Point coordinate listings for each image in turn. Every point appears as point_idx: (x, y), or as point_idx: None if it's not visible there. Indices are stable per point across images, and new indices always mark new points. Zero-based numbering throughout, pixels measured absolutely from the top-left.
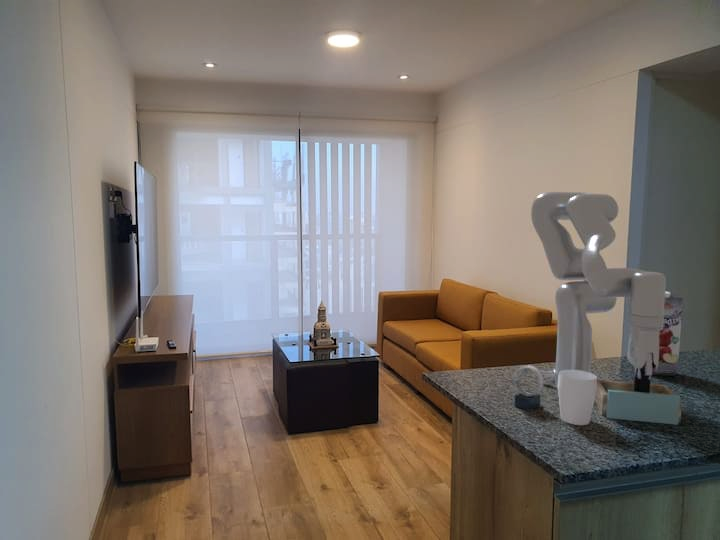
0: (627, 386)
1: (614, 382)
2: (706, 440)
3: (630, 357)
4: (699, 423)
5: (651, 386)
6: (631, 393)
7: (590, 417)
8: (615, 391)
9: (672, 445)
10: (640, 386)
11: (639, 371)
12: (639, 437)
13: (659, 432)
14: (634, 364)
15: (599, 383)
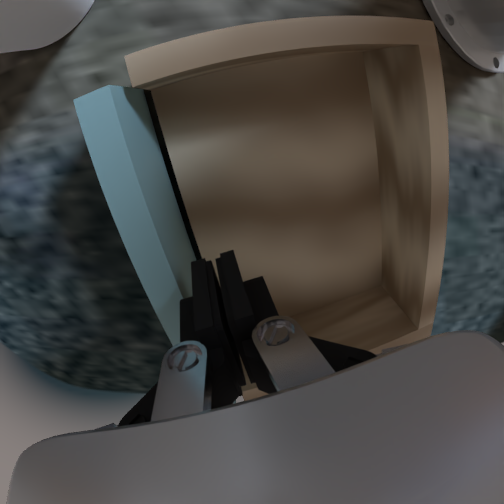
0: (420, 192)
1: (429, 129)
2: (139, 383)
3: (305, 471)
4: None
5: (420, 293)
6: (127, 247)
7: (19, 50)
8: (92, 144)
9: (36, 318)
10: (180, 319)
11: (152, 414)
12: (22, 235)
13: (110, 288)
14: (66, 462)
15: (376, 34)
